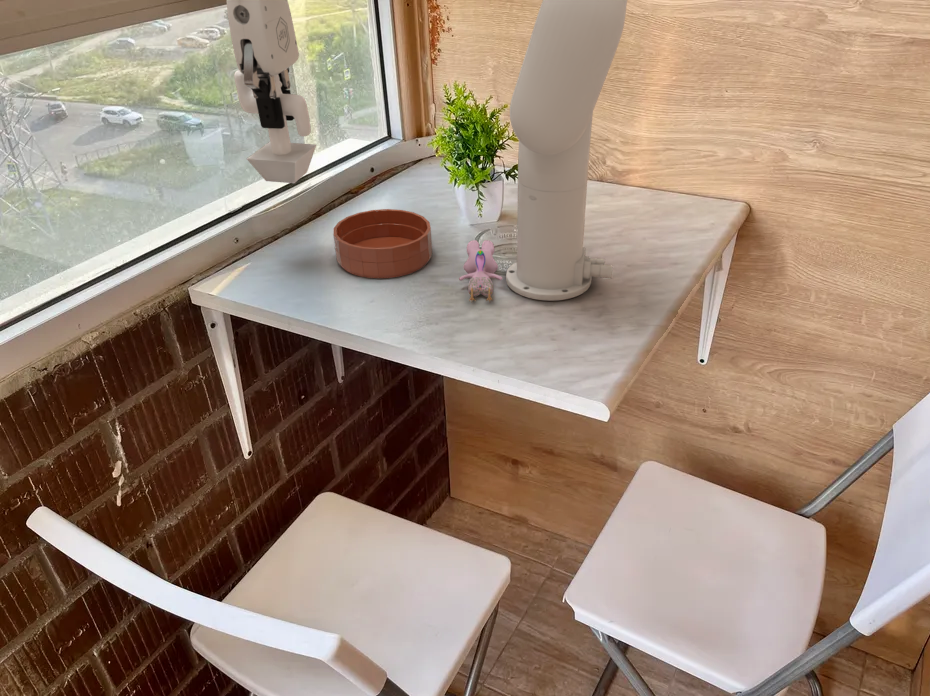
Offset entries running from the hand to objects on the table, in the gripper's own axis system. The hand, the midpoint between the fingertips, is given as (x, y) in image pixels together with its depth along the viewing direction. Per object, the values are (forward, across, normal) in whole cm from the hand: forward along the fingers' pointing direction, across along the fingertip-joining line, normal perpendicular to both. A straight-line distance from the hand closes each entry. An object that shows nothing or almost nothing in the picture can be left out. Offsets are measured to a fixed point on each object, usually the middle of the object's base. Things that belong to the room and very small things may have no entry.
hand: (278, 122), depth 105 cm
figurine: (+8, 0, 0) cm, 8 cm away
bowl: (+22, +4, -12) cm, 25 cm away
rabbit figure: (+22, -1, -28) cm, 35 cm away
